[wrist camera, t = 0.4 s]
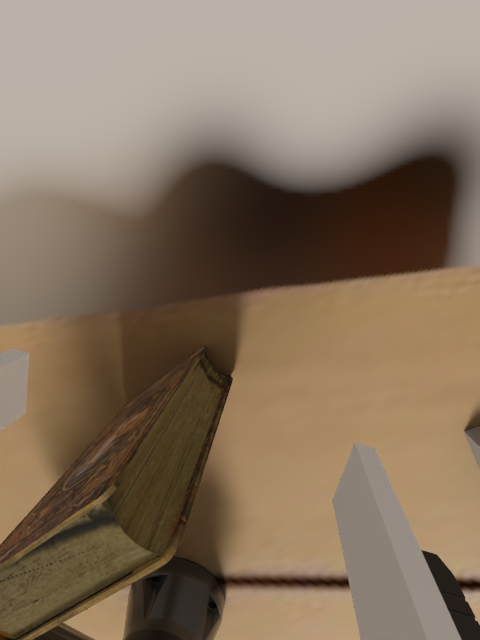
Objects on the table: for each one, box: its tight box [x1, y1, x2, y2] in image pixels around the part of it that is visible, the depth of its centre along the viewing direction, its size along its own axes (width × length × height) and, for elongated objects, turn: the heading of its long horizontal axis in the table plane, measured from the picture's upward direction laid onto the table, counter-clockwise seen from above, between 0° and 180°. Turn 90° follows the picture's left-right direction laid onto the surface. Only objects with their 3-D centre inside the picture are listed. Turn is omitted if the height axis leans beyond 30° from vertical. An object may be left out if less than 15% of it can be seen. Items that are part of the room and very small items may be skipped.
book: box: [0, 345, 233, 640], centre depth 32 cm, size 16×6×25 cm, turn 129°
